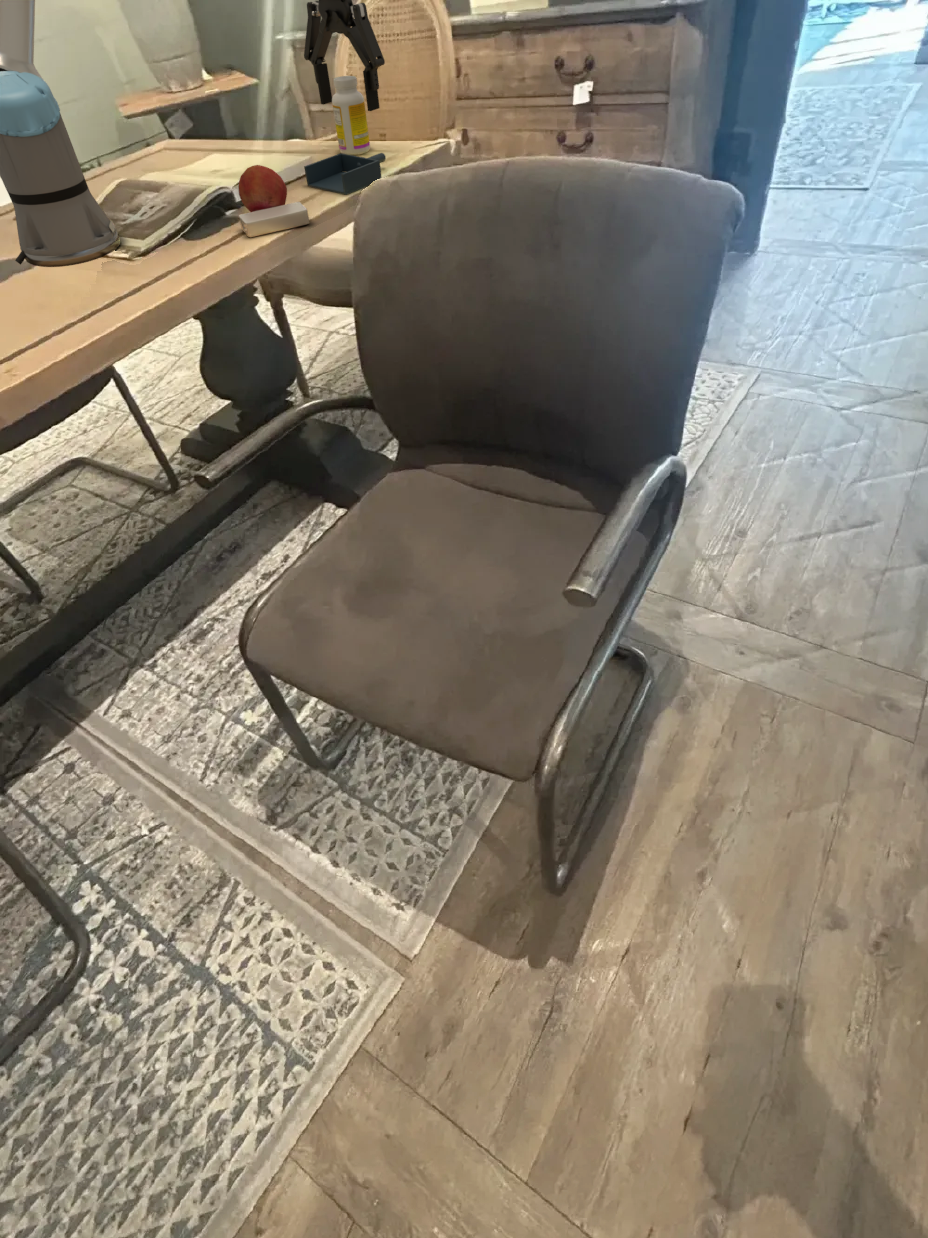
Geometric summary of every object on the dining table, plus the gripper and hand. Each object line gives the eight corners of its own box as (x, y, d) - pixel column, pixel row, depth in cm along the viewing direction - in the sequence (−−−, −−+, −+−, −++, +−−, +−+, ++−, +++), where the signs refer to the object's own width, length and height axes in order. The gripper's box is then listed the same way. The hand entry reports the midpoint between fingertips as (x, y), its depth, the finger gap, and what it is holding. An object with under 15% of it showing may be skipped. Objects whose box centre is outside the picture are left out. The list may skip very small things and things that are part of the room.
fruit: (297, 182, 128) (292, 234, 127) (257, 187, 130) (251, 239, 129) (274, 148, 120) (269, 204, 119) (232, 154, 122) (226, 209, 121)
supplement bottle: (374, 147, 156) (365, 74, 146) (364, 156, 151) (355, 81, 142) (345, 147, 157) (335, 74, 147) (335, 155, 152) (323, 81, 143)
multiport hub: (299, 201, 124) (302, 215, 126) (237, 214, 121) (241, 229, 123) (307, 209, 122) (310, 223, 123) (245, 223, 119) (249, 238, 120)
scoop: (346, 194, 134) (342, 174, 131) (307, 186, 139) (303, 166, 136) (404, 171, 143) (403, 151, 140) (366, 163, 147) (364, 144, 145)
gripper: (393, -34, 129) (406, 108, 145) (299, -35, 140) (320, 96, 156) (365, -28, 125) (381, 116, 141) (270, -30, 136) (295, 104, 152)
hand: (349, 106), depth 148 cm, fingers open, 13 cm apart
